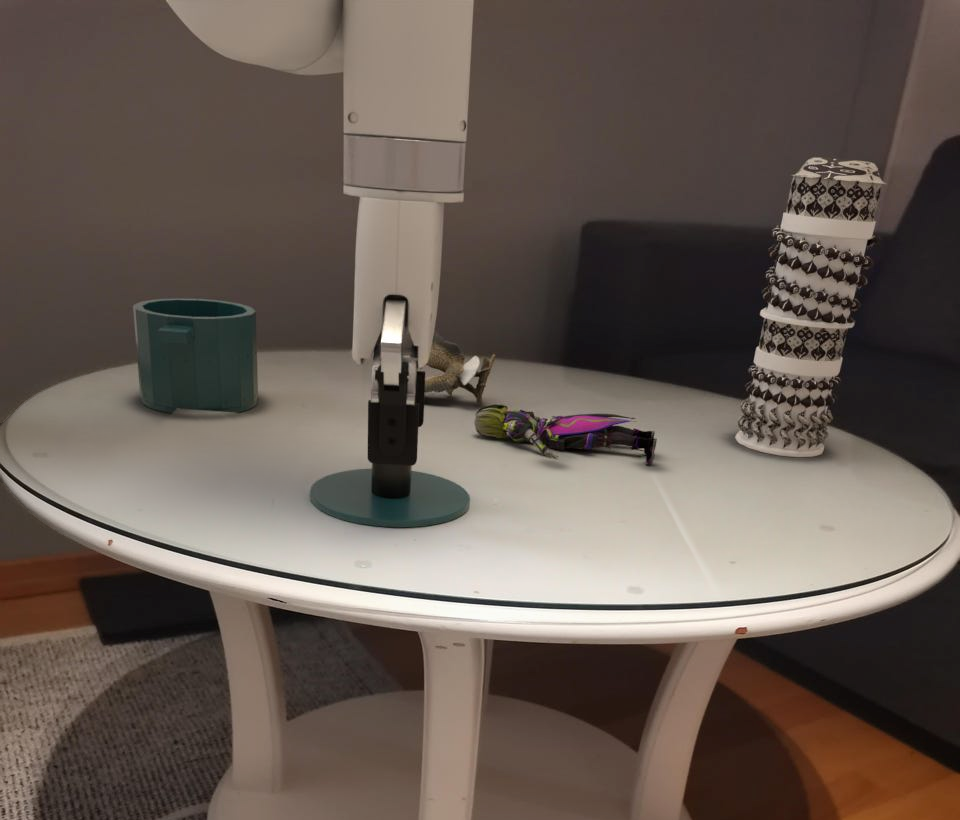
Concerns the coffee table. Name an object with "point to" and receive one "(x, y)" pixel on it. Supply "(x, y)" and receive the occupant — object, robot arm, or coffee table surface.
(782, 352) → the decorative candle
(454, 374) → the eagle figurine
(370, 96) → the robot arm
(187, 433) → the coffee table surface
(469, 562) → the coffee table surface
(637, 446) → the character figure
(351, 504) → the lid
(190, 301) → the pot
